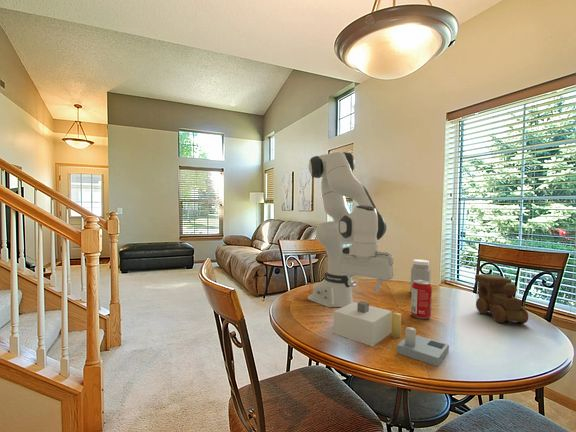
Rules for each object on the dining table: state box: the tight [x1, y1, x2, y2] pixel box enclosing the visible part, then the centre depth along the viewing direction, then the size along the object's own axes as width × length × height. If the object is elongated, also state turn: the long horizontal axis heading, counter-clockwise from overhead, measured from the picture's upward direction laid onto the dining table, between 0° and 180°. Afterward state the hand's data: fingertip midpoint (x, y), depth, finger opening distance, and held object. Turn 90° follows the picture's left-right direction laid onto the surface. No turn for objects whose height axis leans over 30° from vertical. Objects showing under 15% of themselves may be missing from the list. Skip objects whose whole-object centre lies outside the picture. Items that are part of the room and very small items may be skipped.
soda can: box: [410, 280, 433, 320], centre depth 126 cm, size 8×8×15 cm
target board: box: [396, 326, 450, 367], centre depth 94 cm, size 12×12×8 cm
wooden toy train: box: [474, 273, 529, 324], centre depth 127 cm, size 20×11×17 cm, turn 0°
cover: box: [332, 300, 393, 347], centre depth 108 cm, size 15×15×11 cm
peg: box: [391, 312, 402, 339], centre depth 106 cm, size 3×3×8 cm
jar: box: [410, 258, 432, 293], centre depth 162 cm, size 10×10×18 cm
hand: (364, 288), depth 108 cm, fingers open, 8 cm apart
